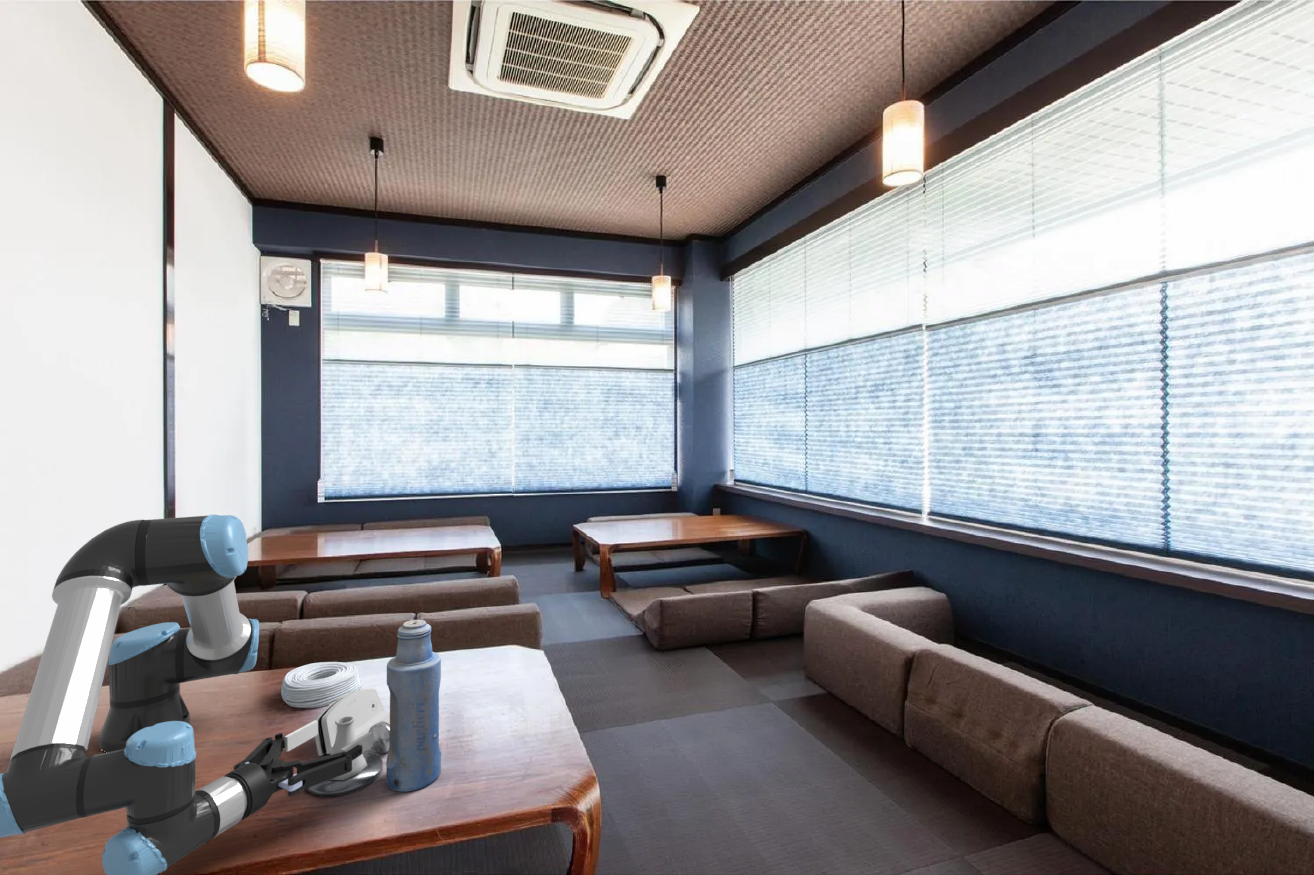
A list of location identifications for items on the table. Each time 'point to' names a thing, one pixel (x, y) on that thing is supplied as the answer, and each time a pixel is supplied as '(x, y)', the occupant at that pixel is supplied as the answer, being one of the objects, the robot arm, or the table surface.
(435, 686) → the bottle
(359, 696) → the white flat angled piece
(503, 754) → the table surface
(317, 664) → the cable
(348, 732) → the flask
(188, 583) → the robot arm
